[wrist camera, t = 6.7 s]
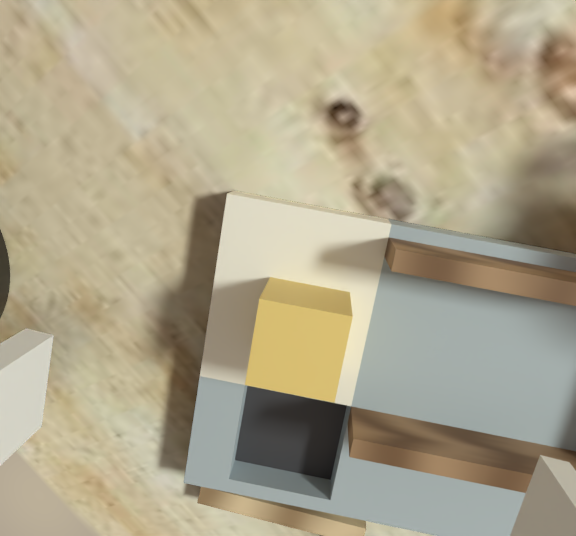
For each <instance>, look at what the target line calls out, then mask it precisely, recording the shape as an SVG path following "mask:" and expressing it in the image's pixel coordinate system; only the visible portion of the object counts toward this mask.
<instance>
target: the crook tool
mask: <svg viewBox="0 0 576 536" xmlns="http://www.w3.org/2000/svg"><path fill="white" fill-rule="evenodd" d="M197 503H200V504H204V505H207V506H211V507H215V508H219V509H223V510H227V511H230V512H234V513H238V514H242V515H246V516H250V517H254V518H257V519H261V520H265V521H269V522H273V523H277V524H280V525H284V526H288V527H292V528H296V529H300V530H303V531H307V532H311V533H315V534H319V535H323V536H364V534H365V531H366V521H364V520H359V519H354V518H350V517H345V516H340V515H335V514H330V513H326V512H321V511H316V510H311V509H306V508H302V507H297V506H292V505H287V504H282V503H278V502H273V501H268V500H263V499H258V498H254V497H249V496H244V495H239V494H234V493H230V492H225V491H220V490H215V489H210V488H206V487H201V489H200V493H199V498H198V502H197Z"/></svg>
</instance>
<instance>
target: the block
mask: <svg viewBox="0 0 576 536" xmlns="http://www.w3.org/2000/svg"><path fill="white" fill-rule="evenodd" d="M352 318H353V314H352V306H351V297H350V292H347V291H341V290H336V289H331V288H326V287H320V286H315V285H310V284H305V283H299V282H294V281H289V280H283V279H278V278H273V277H270V278H269V280H268V282H267V284H266V286H265V288H264V290H263V292H262V294H261V296H260V298H259V303H258V309H257V315H256V321H255V327H254V333H253V339H252V345H251V351H250V357H249V363H248V369H247V375H246V381H245V385H247V386H253V387H258V388H263V389H268V390H273V391H278V392H283V393H288V394H293V395H298V396H303V397H308V398H313V399H318V400H323V401H328V402H333V403H335V398H336V394H337V389H338V384H339V379H340V375H341V370H342V365H343V360H344V356H345V351H346V346H347V341H348V337H349V332H350V327H351V323H352Z"/></svg>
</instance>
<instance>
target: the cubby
mask: <svg viewBox="0 0 576 536" xmlns="http://www.w3.org/2000/svg"><path fill="white" fill-rule="evenodd" d="M384 257H385V259H386V261H387V263H388V265H389V267H390V270H391V271H393V272H398V273H403V274H409V275H414V276H419V277H425V278H430V279H435V280H440V281H446V282H451V283H456V284H462V285H467V286H472V287H477V288H483V289H488V290H493V291H499V292H504V293H509V294H514V295H520V296H525V297H530V298H536V299H541V300H546V301H551V302H557V303H562V304H567V305H573V306H576V272H572V271H567V270H561V269H556V268H551V267H545V266H540V265H535V264H529V263H524V262H519V261H513V260H508V259H503V258H497V257H492V256H486V255H481V254H476V253H470V252H465V251H460V250H454V249H449V248H444V247H438V246H433V245H427V244H422V243H417V242H411V241H406V240H401V239H395V238H390V237H389V238H388V242H387V247H386V251H385V256H384ZM348 441H349V457H351V458H356V459H361V460H366V461H371V462H376V463H380V464H385V465H390V466H395V467H400V468H405V469H410V470H415V471H420V472H425V473H429V474H434V475H439V476H444V477H449V478H454V479H459V480H464V481H469V482H474V483H479V484H483V485H488V486H493V487H498V488H503V489H508V490H513V491H518V492H523V493H526V492H527V489H528V486H529V483H530V481H531V478H532V475H533V473H534V470H535V467H536V465H537V462H538V459H539V457H540V455H542V456H546V457H550V458H554V459H558V460H562V461H567V462H570V464H571V465H572V466H573V468H574V469H575V470H576V451H572V450H567V449H562V448H557V447H552V446H547V445H542V444H537V443H532V442H527V441H522V440H517V439H512V438H507V437H502V436H497V435H492V434H487V433H482V432H477V431H472V430H467V429H462V428H457V427H452V426H447V425H442V424H437V423H432V422H427V421H422V420H417V419H412V418H407V417H402V416H397V415H392V414H387V413H382V412H377V411H372V410H367V409H362V408H357V407H352V406H351V410H350V414H349V419H348Z"/></svg>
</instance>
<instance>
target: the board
mask: <svg viewBox="0 0 576 536" xmlns="http://www.w3.org/2000/svg"><path fill="white" fill-rule="evenodd" d="M389 237H390V238H395V239H401V240H406V241H411V242H417V243H422V244H427V245H433V246H438V247H444V248H449V249H454V250H460V251H465V252H470V253H476V254H481V255H486V256H492V257H497V258H503V259H508V260H513V261H519V262H524V263H529V264H535V265H540V266H545V267H551V268H556V269H561V270H567V271H572V272H576V254H574V253H569V252H564V251H558V250H553V249H547V248H542V247H537V246H531V245H526V244H520V243H515V242H510V241H504V240H499V239H493V238H488V237H483V236H477V235H472V234H466V233H461V232H456V231H450V230H445V229H439V228H434V227H429V226H423V225H418V224H412V223H407V222H402V221H396V220H391V219H385V218H380V217H375V216H369V215H364V214H358V213H353V212H348V211H342V210H337V209H331V208H326V207H321V206H315V205H310V204H304V203H299V202H294V201H288V200H283V199H277V198H272V197H267V196H261V195H256V194H250V193H245V192H240V191H232V192H230V193H227V197H226V204H225V210H224V217H223V224H222V230H221V237H220V244H219V250H218V257H217V264H216V271H215V277H214V284H213V291H212V297H211V304H210V311H209V317H208V324H207V331H206V337H205V344H204V351H203V357H202V364H201V371H200V378H199V384H198V391H197V398H196V404H195V411H194V418H193V424H192V431H191V438H190V444H189V451H188V458H187V465H186V471H185V478H184V483H186V484H191V485H196V486H201V487H206V488H210V489H215V490H220V491H225V492H230V493H234V494H239V495H244V496H249V497H254V498H258V499H263V500H268V501H273V502H278V503H282V504H287V505H292V506H297V507H302V508H306V509H311V510H316V511H321V512H326V513H330V514H335V515H340V516H345V517H350V518H354V519H359V520H364V521H369V522H374V523H378V524H383V525H388V526H393V527H398V528H402V529H407V530H412V531H417V532H422V533H426V534H431V535H436V536H510V534H511V532H512V529H513V526H514V524H515V521H516V518H517V516H518V513H519V510H520V508H521V505H522V502H523V500H524V497H525V494H526V493H523V492H518V491H513V490H508V489H503V488H498V487H493V486H488V485H483V484H479V483H474V482H469V481H464V480H459V479H454V478H449V477H444V476H439V475H434V474H429V473H425V472H420V471H415V470H410V469H405V468H400V467H395V466H390V465H385V464H380V463H376V462H371V461H366V460H361V459H356V458H351V457H349V441H348V419H349V414H350V410H351V406H352V407H357V408H362V409H367V410H372V411H377V412H382V413H387V414H392V415H397V416H402V417H407V418H412V419H417V420H422V421H427V422H432V423H437V424H442V425H447V426H452V427H457V428H462V429H467V430H472V431H477V432H482V433H487V434H492V435H497V436H502V437H507V438H512V439H517V440H522V441H527V442H532V443H537V444H542V445H547V446H552V447H557V448H562V449H567V450H572V451H576V306H573V305H567V304H562V303H557V302H551V301H546V300H541V299H536V298H530V297H525V296H520V295H514V294H509V293H504V292H499V291H493V290H488V289H483V288H477V287H472V286H467V285H462V284H456V283H451V282H446V281H440V280H435V279H430V278H425V277H419V276H414V275H409V274H403V273H398V272H393V271H391V270H390V267H389V265H388V263H387V261H386V259H385V257H384V256H385V251H386V247H387V242H388V238H389ZM270 277H273V278H278V279H283V280H289V281H294V282H299V283H305V284H310V285H315V286H320V287H326V288H331V289H336V290H341V291H347V292H350V297H351V306H352V314H353V318H352V323H351V327H350V332H349V337H348V341H347V346H346V351H345V356H344V360H343V365H342V370H341V375H340V379H339V384H338V389H337V394H336V398H335V403H333V402H328V401H323V400H318V399H313V398H308V397H303V396H298V395H293V394H288V393H283V392H278V391H273V390H268V389H263V388H258V387H253V386H247V385H245V381H246V375H247V369H248V363H249V357H250V351H251V345H252V339H253V333H254V327H255V321H256V315H257V309H258V303H259V298H260V296H261V294H262V292H263V290H264V288H265V286H266V284H267V282H268V280H269V278H270Z"/></svg>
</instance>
